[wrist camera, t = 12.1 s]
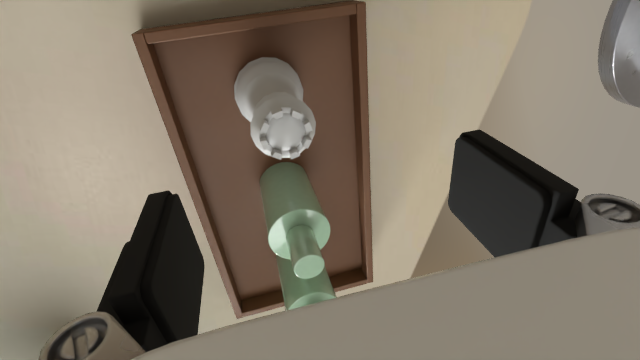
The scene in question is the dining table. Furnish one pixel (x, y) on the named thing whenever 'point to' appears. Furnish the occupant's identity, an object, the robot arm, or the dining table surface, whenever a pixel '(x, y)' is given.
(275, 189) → the bottle mid
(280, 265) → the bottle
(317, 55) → the tray
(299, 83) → the rook chess piece
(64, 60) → the dining table surface
